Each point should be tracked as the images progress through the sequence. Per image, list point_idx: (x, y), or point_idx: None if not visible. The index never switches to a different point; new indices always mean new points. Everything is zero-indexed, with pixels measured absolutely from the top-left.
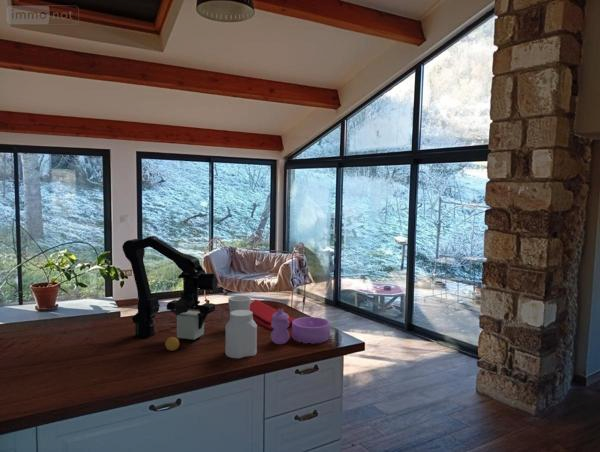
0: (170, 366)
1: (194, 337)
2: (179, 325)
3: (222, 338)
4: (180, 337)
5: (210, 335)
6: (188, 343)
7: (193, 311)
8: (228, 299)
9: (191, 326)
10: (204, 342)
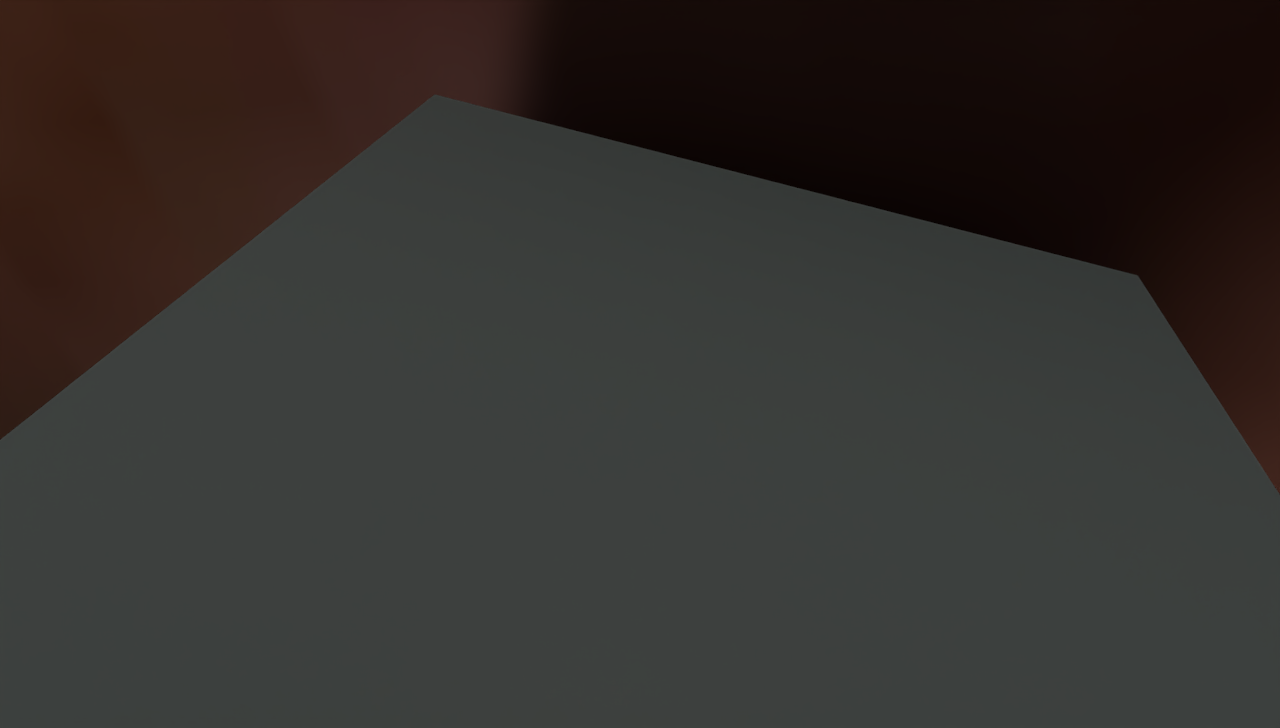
0: None
1: (405, 126)
2: (1170, 568)
3: None
4: (988, 240)
5: None
6: (660, 40)
7: None
8: None
9: (340, 367)
10: (238, 171)
